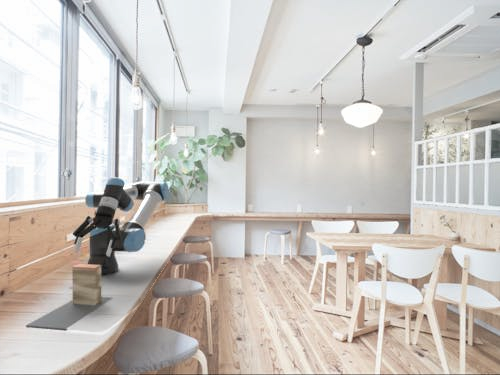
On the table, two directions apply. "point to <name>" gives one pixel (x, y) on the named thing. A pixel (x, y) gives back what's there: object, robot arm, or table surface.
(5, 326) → the table surface
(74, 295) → the block
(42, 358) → the table surface
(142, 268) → the table surface
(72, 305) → the mat
